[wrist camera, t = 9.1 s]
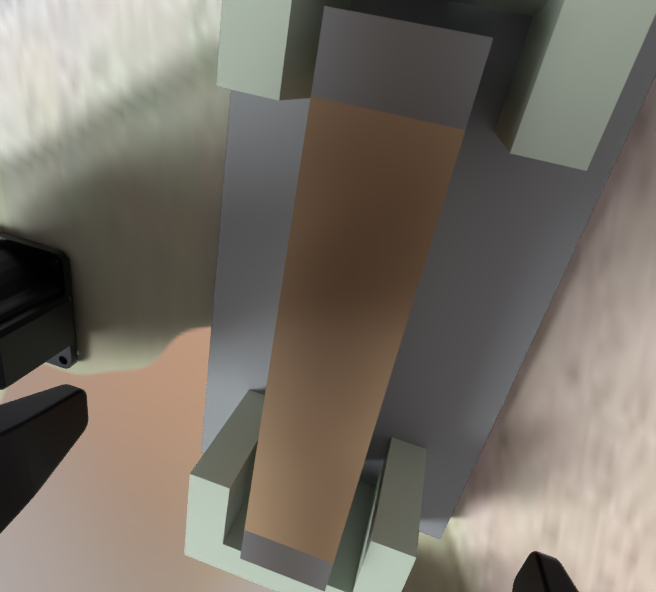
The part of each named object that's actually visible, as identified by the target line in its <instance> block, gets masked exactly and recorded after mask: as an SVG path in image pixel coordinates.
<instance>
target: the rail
mask: <svg viewBox="0 0 656 592" xmlns="http://www.w3.org/2000/svg"><path fill="white" fill-rule="evenodd" d="M492 41H493V38H492V37H487V36H482V35H476V34H471V33H466V32H460V31H455V30H450V29H444V28H439V27H434V26H429V25H423V24H418V23H413V22H407V21H402V20H397V19H391V18H386V17H381V16H376V15H370V14H365V13H360V12H354V11H349V10H344V9H339V8H333V7H328V6H324V12H323V19H322V26H321V32H320V39H319V45H318V52H317V58H316V65H315V71H314V78H313V84H312V91H311V97H310V104H309V110H308V117H307V124H306V130H305V137H304V143H303V150H302V156H301V163H300V169H299V176H298V182H297V189H296V195H295V202H294V209H293V215H292V222H291V228H290V235H289V241H288V248H287V254H286V261H285V267H284V274H283V280H282V287H281V293H280V300H279V307H278V313H277V320H276V326H275V333H274V339H273V346H272V352H271V359H270V365H269V372H268V378H267V385H266V392H265V398H264V405H263V411H262V418H261V424H260V431H259V437H258V444H257V450H256V457H255V463H254V470H253V476H252V483H251V490H250V496H249V503H248V509H247V516H246V522H245V529H244V535H243V542H242V548H241V555H240V559H242V560H245V561H247V562H250V563H253V564H255V565H258V566H260V567H263V568H265V569H268V570H270V571H273V572H276V573H278V574H281V575H283V576H286V577H288V578H291V579H293V580H296V581H299V582H301V583H304V584H306V585H309V586H311V587H314V588H316V589H319V590H322V591H324V592H325V589H326V586H327V583H328V579H329V576H330V573H331V570H332V566H333V563H334V560H335V556H336V553H337V550H338V547H339V543H340V540H341V537H342V533H343V530H344V527H345V524H346V520H347V517H348V514H349V511H350V507H351V504H352V501H353V497H354V494H355V491H356V488H357V484H358V481H359V478H360V474H361V471H362V468H363V465H364V461H365V458H366V455H367V451H368V448H369V445H370V442H371V438H372V435H373V432H374V428H375V425H376V422H377V419H378V415H379V412H380V409H381V405H382V402H383V399H384V396H385V392H386V389H387V386H388V383H389V379H390V376H391V373H392V369H393V366H394V363H395V360H396V356H397V353H398V350H399V346H400V343H401V340H402V337H403V333H404V330H405V327H406V323H407V320H408V317H409V314H410V310H411V307H412V304H413V300H414V297H415V294H416V291H417V287H418V284H419V281H420V277H421V274H422V271H423V268H424V264H425V261H426V258H427V255H428V251H429V248H430V245H431V241H432V238H433V235H434V232H435V228H436V225H437V222H438V218H439V215H440V212H441V209H442V205H443V202H444V199H445V195H446V192H447V189H448V186H449V182H450V179H451V176H452V172H453V169H454V166H455V163H456V159H457V156H458V153H459V149H460V146H461V143H462V140H463V136H464V133H465V130H466V127H467V123H468V120H469V117H470V113H471V110H472V107H473V104H474V100H475V97H476V94H477V90H478V87H479V84H480V81H481V77H482V74H483V71H484V67H485V64H486V61H487V58H488V54H489V51H490V48H491V44H492Z"/></svg>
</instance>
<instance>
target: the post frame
mask: <svg viewBox="0 0 656 592" xmlns="http://www.w3.org/2000/svg"><path fill="white" fill-rule="evenodd" d="M324 6H328V7H333V8H339V9H344V10H349V11H354V12H360V13H365V14H370V15H376V16H381V17H386V18H391V19H397V20H402V21H407V22H413V23H418V24H423V25H429V26H434V27H439V28H444V29H450V30H455V31H460V32H466V33H471V34H476V35H482V36H487V37H492V38H493V41H492V44H491V48H490V51H489V54H488V58H487V61H486V64H485V67H484V71H483V74H482V77H481V81H480V84H479V87H478V90H477V94H476V97H475V100H474V104H473V107H472V110H471V113H470V117H469V120H468V123H467V127H466V130H465V133H464V136H463V140H462V143H461V146H460V149H459V153H458V156H457V159H456V163H455V166H454V169H453V172H452V176H451V179H450V182H449V186H448V189H447V192H446V195H445V199H444V202H443V205H442V209H441V212H440V215H439V218H438V222H437V225H436V228H435V232H434V235H433V238H432V241H431V245H430V248H429V251H428V255H427V258H426V261H425V264H424V268H423V271H422V274H421V277H420V281H419V284H418V287H417V291H416V294H415V297H414V300H413V304H412V307H411V310H410V314H409V317H408V320H407V323H406V327H405V330H404V333H403V337H402V340H401V343H400V346H399V350H398V353H397V356H396V360H395V363H394V366H393V369H392V373H391V376H390V379H389V383H388V386H387V389H386V392H385V396H384V399H383V402H382V405H381V409H380V412H379V415H378V419H377V422H376V425H375V428H374V432H373V435H372V438H371V442H370V445H369V448H368V451H367V455H366V458H365V461H364V465H363V468H362V471H361V474H360V478H359V481H358V484H357V488H356V491H355V494H354V497H353V501H352V504H351V507H350V511H349V514H348V517H347V520H346V524H345V527H344V530H343V533H342V537H341V540H340V543H339V547H338V550H337V553H336V556H335V560H334V563H333V566H332V570H331V573H330V576H329V579H328V583H327V586H326V589H325V592H402V589H403V587H404V585H405V583H406V580H407V578H408V576H409V573H410V571H411V569H412V567H413V564H414V562H415V560H416V557H417V546H418V536H419V532H421V533H424V534H427V535H430V536H432V537H435V538H438V539H441V537H442V534H443V532H444V530H445V528H446V526H447V524H448V521H449V519H450V517H451V515H452V513H453V511H454V509H455V506H456V504H457V502H458V500H459V498H460V496H461V493H462V491H463V489H464V487H465V485H466V483H467V481H468V478H469V476H470V474H471V472H472V470H473V468H474V465H475V463H476V461H477V459H478V457H479V455H480V453H481V450H482V448H483V446H484V444H485V442H486V440H487V437H488V435H489V433H490V431H491V429H492V427H493V425H494V422H495V420H496V418H497V416H498V414H499V412H500V409H501V407H502V405H503V403H504V401H505V399H506V397H507V394H508V392H509V390H510V388H511V386H512V384H513V381H514V379H515V377H516V375H517V373H518V371H519V369H520V366H521V364H522V362H523V360H524V358H525V356H526V353H527V351H528V349H529V347H530V345H531V343H532V341H533V338H534V336H535V334H536V332H537V330H538V328H539V325H540V323H541V321H542V319H543V317H544V315H545V313H546V310H547V308H548V306H549V304H550V302H551V300H552V297H553V295H554V293H555V291H556V289H557V287H558V285H559V282H560V280H561V278H562V276H563V274H564V272H565V269H566V267H567V265H568V263H569V261H570V259H571V257H572V254H573V252H574V250H575V248H576V246H577V244H578V241H579V239H580V237H581V235H582V233H583V231H584V229H585V226H586V224H587V222H588V220H589V218H590V216H591V213H592V211H593V209H594V207H595V205H596V203H597V201H598V198H599V196H600V194H601V192H602V190H603V188H604V185H605V183H606V181H607V179H608V177H609V175H610V173H611V170H612V168H613V166H614V164H615V162H616V160H617V157H618V155H619V153H620V151H621V149H622V147H623V145H624V142H625V140H626V138H627V136H628V134H629V132H630V129H631V127H632V125H633V123H634V121H635V119H636V117H637V114H638V112H639V110H640V108H641V106H642V104H643V101H644V99H645V97H646V95H647V93H648V91H649V89H650V86H651V84H652V82H653V80H654V78H655V76H656V0H222V10H221V24H220V39H219V54H218V68H217V83H216V86H218V87H222V88H226V89H231V95H230V107H229V119H228V132H227V144H226V156H225V168H224V181H223V193H222V205H221V217H220V229H219V242H218V254H217V266H216V278H215V290H214V303H213V315H212V327H211V340H210V352H209V364H208V376H207V388H206V401H205V413H204V425H203V438H202V450H201V453H202V454H203V456H202V457H201V459H200V460H199V462H198V463H197V464H196V466H195V467H194V469H193V470H192V471H191V473H190V479H189V494H188V508H187V523H186V539H185V552H184V554H185V555H187V556H189V557H192V558H194V559H197V560H199V561H202V562H205V563H207V564H209V565H212V566H214V567H217V568H219V569H222V570H224V571H227V572H229V573H232V574H234V575H237V576H240V577H242V578H245V579H247V580H249V581H252V582H255V583H257V584H260V585H262V586H264V587H267V588H269V589H272V590H274V591H277V592H324V591H322V590H319V589H316V588H314V587H311V586H309V585H306V584H304V583H301V582H299V581H296V580H293V579H291V578H288V577H286V576H283V575H281V574H278V573H276V572H273V571H270V570H268V569H265V568H263V567H260V566H258V565H255V564H253V563H250V562H247V561H245V560H242V559H240V555H241V548H242V542H243V535H244V529H245V522H246V516H247V509H248V503H249V496H250V490H251V483H252V476H253V470H254V463H255V457H256V450H257V444H258V437H259V431H260V424H261V418H262V411H263V405H264V398H265V392H266V385H267V378H268V372H269V365H270V359H271V352H272V346H273V339H274V333H275V326H276V320H277V313H278V307H279V300H280V293H281V287H282V280H283V274H284V267H285V261H286V254H287V248H288V241H289V235H290V228H291V222H292V215H293V209H294V202H295V195H296V189H297V182H298V176H299V169H300V163H301V156H302V150H303V143H304V137H305V130H306V124H307V117H308V110H309V104H310V97H311V91H312V84H313V78H314V71H315V65H316V58H317V52H318V45H319V39H320V32H321V26H322V19H323V12H324Z"/></svg>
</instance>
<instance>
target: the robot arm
mask: <svg viewBox="0 0 656 592" xmlns="http://www.w3.org/2000/svg"><path fill="white" fill-rule="evenodd" d="M56 260H57V261H58V262H57V261H56ZM45 362H48V363H51V364H53V365H56V366H59V367H62V368H66V369H67V368H70V367H71V366H73V365H74V364H75V363H76V362H77V349H76V336H75V323H74V311H73V298H72V285H71V272H70V262H69V258H68V257H67V255H66V254H65V253H64V252H63V251H61V250H58V249H55V248H51V247H48V246H45V245H42V244H38V243H35V242H32V241H28V240H25V239H22V238H19V237H15V236H12V235H9V234H5V233H2V232H0V390H3V389H5V388H7V387H8V386H10V385H11V384H13V383H14V382H16V381H17V380H19V379H20V378H22V377H23V376H25V375H27V374H28V373H29V372H31V371H33V370H34V369H35V368H37V367H39V366H40V365H42V364H43V363H45ZM87 424H88V407H87V395H86V392H85V391H84V390H83V389H80V388H77V387H75V386H72V385H67V384H65V385H60V386H57V387H54V388H51V389H48V390H45V391H42V392H39V393H35V394H32V395H29V396H26V397H23V398H20V399H17V400H14V401H11V402H8V403H5V404H1V405H0V533H1V532H2V531H3V530H4V529H5V528H6V527H7V526H8V525H9V523H10V522H11V521H12V520H13V519H14V518H15V517H16V516H17V515H18V514H19V513H20V511H21V510H22V509H23V508H24V507H25V506H26V505H27V504H28V503H29V502H30V500H31V499H32V498H33V497H34V496H35V494H36V493H37V492H38V491H39V489H40V488H41V487H42V486H43V485H44V483H45V482H46V481H47V479H48V478H49V477H50V475H51V474H52V472H53V471H54V470H55V469H56V468H57V466H58V465H59V463H60V462H61V461H62V460H63V458H64V457H65V456H66V454H67V453H68V452H69V450H70V449H71V448H72V446H73V445H74V444H75V443H76V441H77V440H78V439H79V437H80V436H81V435H82V433H83V432H84V430H85V428H86V426H87ZM512 592H579V591H578V590H577V588H576V586H575V585H574V583H573V582H572V580H571V578H570V577H569V575H568V574H567V572H566V570H565V569H564V567H563V566H562V564H561V563H560V562H559V561H558V560H557V559H556V558H554V557H551V556H549V555H546V554H543V553H540V552H537V551H534V552H532V553H531V554H530V555H529V556H528V558H527V559H526V561H525V563H524V564H523V566H522V567H521V569H520V571H519V572H518V574H517V576H516V578H515V580H514V583H513V589H512Z"/></svg>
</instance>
